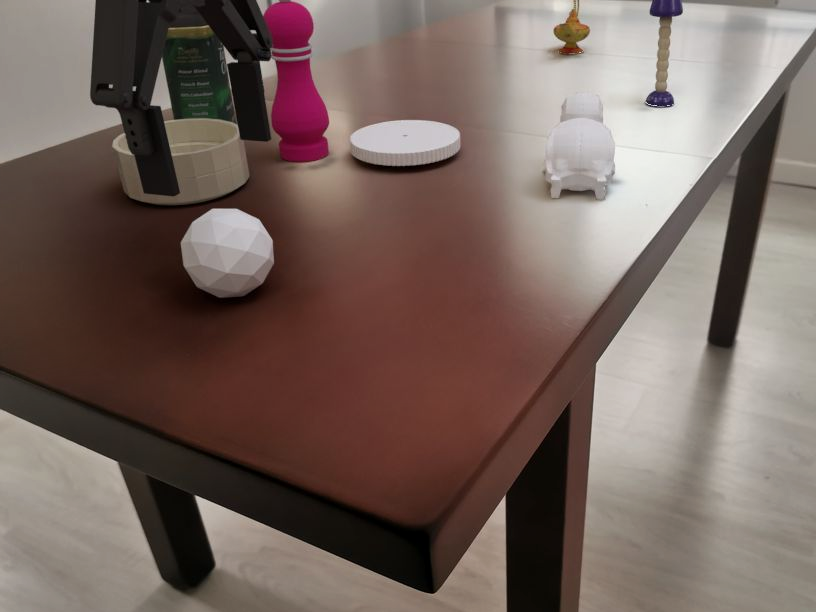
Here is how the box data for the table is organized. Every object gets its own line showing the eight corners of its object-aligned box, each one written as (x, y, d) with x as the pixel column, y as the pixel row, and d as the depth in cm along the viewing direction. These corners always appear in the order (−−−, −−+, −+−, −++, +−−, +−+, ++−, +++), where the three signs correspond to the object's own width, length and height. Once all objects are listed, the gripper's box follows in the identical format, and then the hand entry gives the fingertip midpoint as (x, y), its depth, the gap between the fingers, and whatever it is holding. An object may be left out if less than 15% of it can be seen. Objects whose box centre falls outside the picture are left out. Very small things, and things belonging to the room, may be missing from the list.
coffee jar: (234, 144, 109) (208, -5, 99) (174, 147, 108) (141, -2, 98) (241, 123, 117) (218, -16, 107) (185, 126, 116) (157, -13, 106)
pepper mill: (295, 167, 100) (271, -6, 90) (266, 154, 105) (240, -13, 94) (343, 154, 104) (326, -14, 94) (313, 142, 109) (294, -20, 98)
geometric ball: (241, 306, 76) (257, 223, 76) (279, 307, 70) (296, 217, 70) (161, 288, 71) (178, 200, 72) (193, 287, 65) (212, 191, 65)
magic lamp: (542, 63, 145) (544, -3, 140) (559, 42, 160) (561, -18, 154) (580, 65, 144) (583, -2, 138) (594, 44, 158) (597, -17, 153)
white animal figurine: (614, 221, 92) (615, 135, 100) (620, 163, 85) (621, 76, 94) (538, 218, 93) (546, 134, 101) (539, 161, 86) (547, 75, 95)
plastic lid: (331, 166, 100) (329, 147, 99) (381, 134, 111) (380, 116, 110) (434, 179, 96) (433, 158, 94) (476, 144, 107) (476, 125, 105)
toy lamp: (652, 109, 119) (665, -14, 110) (634, 102, 123) (645, -18, 114) (679, 105, 121) (693, -16, 112) (661, 98, 124) (673, -20, 115)
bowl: (99, 201, 92) (84, 150, 89) (173, 161, 103) (163, 114, 100) (206, 214, 88) (195, 161, 85) (271, 171, 99) (264, 122, 96)
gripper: (67, -135, 44) (157, 227, 55) (290, -143, 64) (322, 124, 75) (-39, -131, 46) (68, 216, 57) (208, -140, 66) (252, 119, 77)
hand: (212, 164), depth 66 cm, fingers open, 13 cm apart
